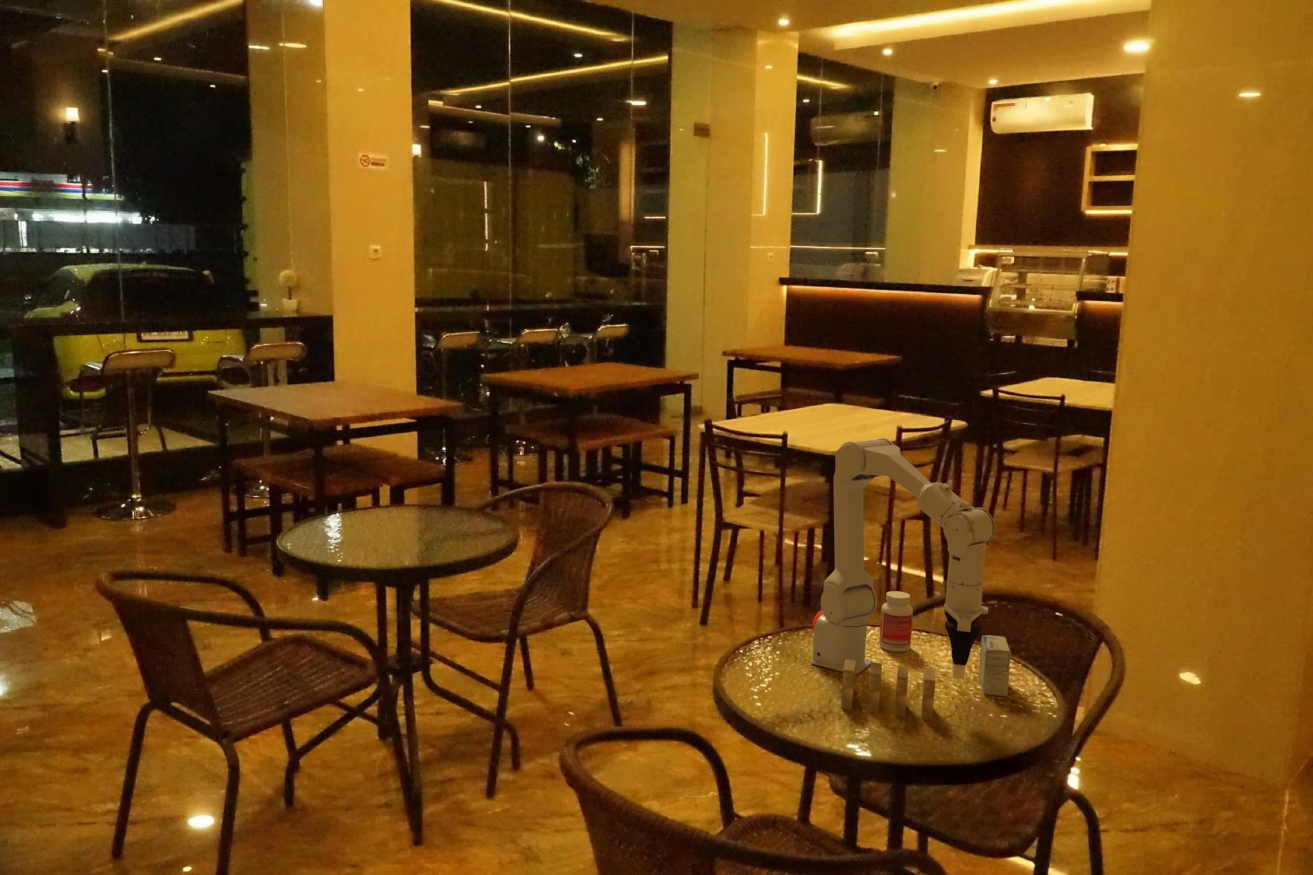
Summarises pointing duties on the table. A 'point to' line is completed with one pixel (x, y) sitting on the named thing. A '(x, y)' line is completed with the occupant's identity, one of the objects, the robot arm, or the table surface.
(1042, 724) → the table surface
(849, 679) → the domino
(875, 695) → the domino
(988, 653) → the medicine box
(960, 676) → the end domino
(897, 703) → the domino
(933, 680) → the domino
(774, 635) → the table surface
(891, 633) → the pill bottle
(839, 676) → the table surface
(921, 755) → the table surface
